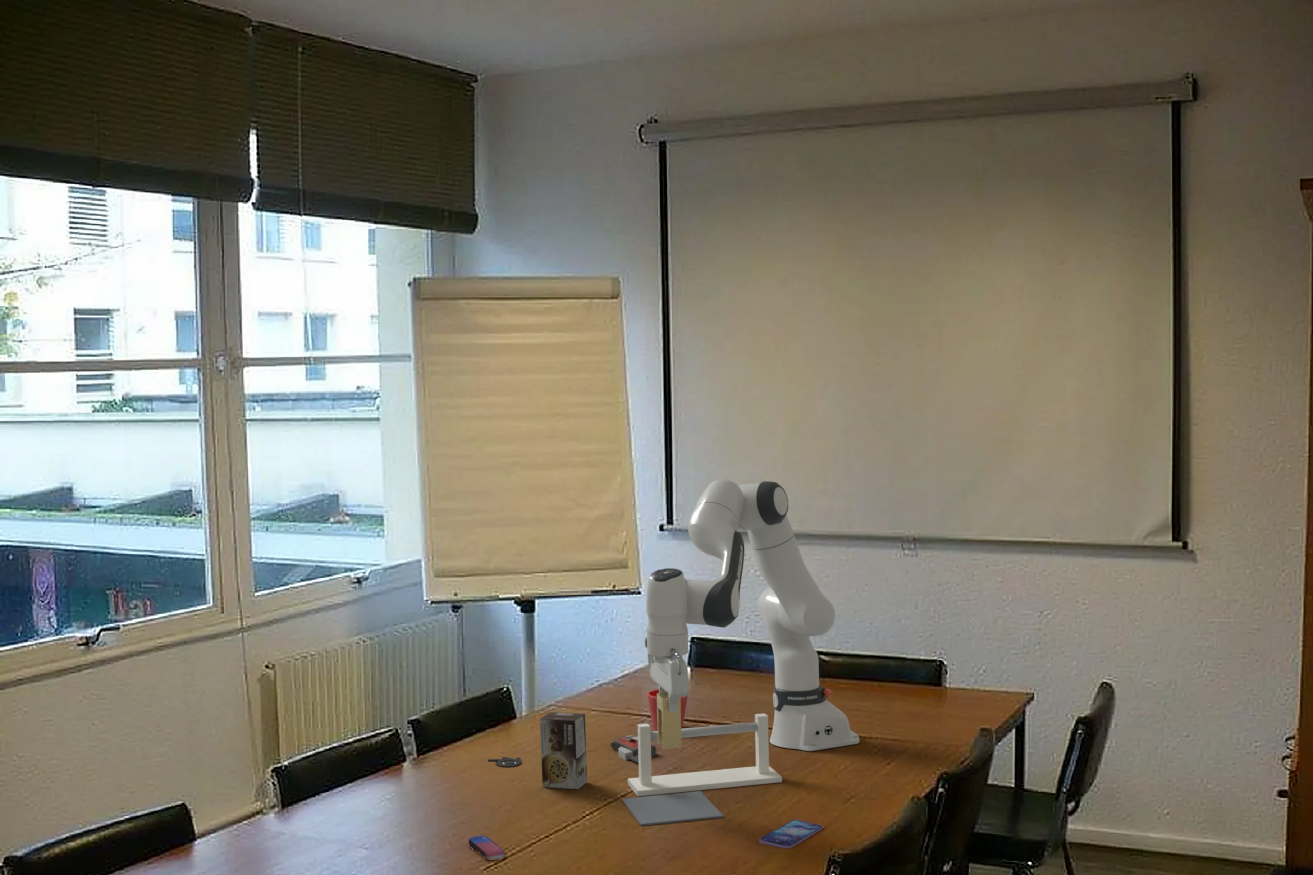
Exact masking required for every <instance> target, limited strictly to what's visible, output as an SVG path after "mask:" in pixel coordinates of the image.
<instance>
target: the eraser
mask: <svg viewBox="0 0 1313 875" xmlns="http://www.w3.org/2000/svg"><path fill="white" fill-rule="evenodd" d="M468 844H469V845H470V846H469V848H470V847H472V848H473V849H474V850H475V851H477V852H479V853H480V854H481V855H482V856H484V857H485V858H486V859H500V858H504V857H505V858H506V854H505V850H504V849H503V848H502V847H501V846H499V845H498V844H497V843H495V842H494V841H493V839H491V838H489V837H488V836H485V835H477V836H472V837H470V838H469V839H468ZM475 851H474V852H475ZM477 852H476V853H477ZM481 855H480V856H481ZM482 856H481V857H482ZM505 858H504V859H505ZM486 859H485V860H486Z"/></svg>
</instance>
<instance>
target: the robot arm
mask: <svg viewBox="0 0 1313 875" xmlns="http://www.w3.org/2000/svg"><path fill="white" fill-rule="evenodd" d="M698 498H699V499H698V500H697V502H696V504H695V506H694V508H693V511H692V513H691V515H690V519H689V522H688V526H687V530H688V535H689V539H690V540H691V542H692V544H693V545H694V546H695V547H696V548H697V549H698V550H699V551H700V552H703V553H704V554H706V555H708V556H711V557H714V558H717V559H720V560H721V561H722V564H721V571H720V576H719V578H718V579H714V580H695V579H694V580H693V579H687V578H685V574H684V572H683V571H682V570H681V569H678V568H673V567H671V568H669V567H668V568H663V569H662V568H661V569H657V570H655V571H653V572H651V574H650V575H649V578H648V581H647V589H646V615H647V618H648V625H647V629H646V635H647V636H646V637H644V647H645V648H646V649H647V661H648V662H647V663H648V672H649V677H650V678H651V680H653V681H654V682H655V684H657V685H658V686H657V687H658V689H659V693H666V692H667V693H668V697H669V703H668V711H669V712H671V713H676V712H677V711H678V701H679V697H682V696H687V694H688V693H689V682H688V680H689V679H688V668H687V663H686V661H685V659H684V658H683V656H685V655H687V654H688V653H689V630H688V628H689V627H688V625H703V626H710V627H716V628H722V629H724V628H727V627H728V626H730V625H731V624H732V623H733V622H735V620H737V618H738V617H739V612H740V602H741V597H740V596H741V595H740V594H741V584H742V578H743V576H742V575H743V569H744V561H745V542H744V538H743V536H742V533H741V532H745V531H747V536H748V540H749V543H750V546H751V550H752V552H753V555H754V558H755V561H756V564H757V568H758V570H759V572H760V576H761V578H762V579H763V580H764V581H765V582H766V583H767V584H768V585H769V587H768V588H766V589H764V590H763V591H762V593H761V594H760V596H759V598H758V601H757V610H758V611H757V612H758V614H759V616H760V617H761V619H762V621H763V622H764V624H765V626H766V630H767V632H768V636H769V640H770V644H771V647H772V648H771V649H772V652H773V659H774V660H773V661H774V686H773V694H772V698H773V699H772V700H773V701H772V702H773V703H772V704H773V708H774V715H773V716H774V717H773V724H772V731H771V735H770V739H769V743H770V744H772V745H773V746H777V747H780V748H785V749H794V750H800V751H801V750H802V751H804V752H805V751H806V752H813V751H820V750H825V749H826V750H827V749H832V748H838V747H845V746H850V745H851V746H852V745H856V744H857V745H858V744H859V743H860V736H859V735H858V734H857V733H856V732H854V731H852V730H851V726H850V722H849V721H850V720H849V719H848V717H847V715H846V714H845V713H844V712H843V711H841V710H840V709H839V708H838V707H836V705H834V704H833V703H831V702H830V701H829V700H827V698H829V699H830V698H832V696H833V694H834V692H833V690H831V689H830V688H826V687H823V686H822V685H820V668H819V663H820V661H819V654H818V652H817V651H816V650H815V648H814V647H813V643H812V641H811V639H810V637H817V636H818V637H819V636H823V635H825V634H827V633H828V632H829V631H830V630H831V629H832V628H833V626H834V623H835V621H836V610H835V607H834V605H833V604H832V602H831V601H830V600H829V599H828V598H827V597H826V596H825V595H824V594H823V592H822V591H821V590H820V588H819V587H818V585H817V583H816V582H815V580H814V578H813V576H812V575H811V573H810V572H809V570H808V568H807V566H806V564H805V561H804V560H803V558H802V554H801V552H800V548H799V546H798V543H797V542H798V541H797V539H796V536H795V533H794V531H793V528H792V527H793V526H792V525H791V523H790V520H789V518H788V516H787V514H788V512H789V511H788V510H789V499H788V494H787V492H786V491H785V488H783V486H782V485H780V484H779V483H778V482H775V481H771V480H770V481H767V480H766V481H764V480H763V481H761V482H754V483H753V482H752V483H750V482H749V483H743V484H737V483H735V481H732V480H730V479H726V478H725V479H722V478H719V479H715V480H714V481H711V482H710V483H709V484H708V485H707V486H706V488H705V489H704V491H703V492H702V493H701V495H700V497H698ZM687 624H688V625H687ZM687 697H688V696H687Z"/></svg>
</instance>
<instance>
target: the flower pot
mask: <svg viewBox="0 0 1313 875" xmlns="http://www.w3.org/2000/svg"><path fill="white" fill-rule="evenodd" d="M657 693H659V688H658V689H654V690H650V691H648V692H647V700H648V702H647V703H648V707H649V713H650V719H651V722H652V728H653V731H658V728H657ZM688 696H689V695H688V694H687V696H682V697H681V729H684V728H683V727H684V722H685V717H686V710H687V702H688Z"/></svg>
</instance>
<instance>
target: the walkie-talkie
mask: <svg viewBox="0 0 1313 875" xmlns="http://www.w3.org/2000/svg"><path fill="white" fill-rule="evenodd" d="M610 747H611V748H613V750H614V751H615V752H617V753H618V757H619V758H621V759H623V760H624V761H633V762H635V763H637V764H639V761H638V735H636V736H634V734H633V735H627V736H622V737H620V736H619V737H617V738H615V739H614V740H613V742H612V743H610ZM656 749H657V746H656V745H654V744H651V758H652V757H656V755H657V750H656Z"/></svg>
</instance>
